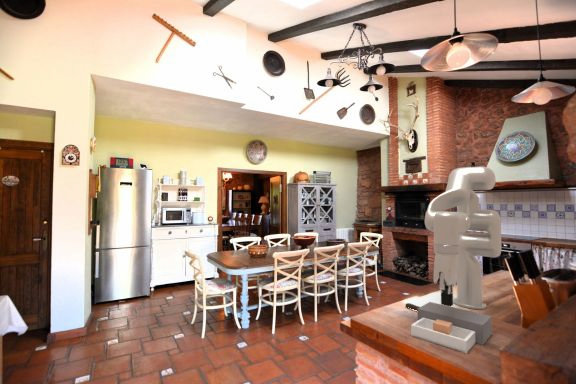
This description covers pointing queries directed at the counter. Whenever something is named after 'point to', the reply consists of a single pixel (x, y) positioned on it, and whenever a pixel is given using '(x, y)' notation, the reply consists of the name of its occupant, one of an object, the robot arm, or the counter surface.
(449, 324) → the terracotta tile
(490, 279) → the counter surface
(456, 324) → the block
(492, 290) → the counter surface
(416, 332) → the box
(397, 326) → the counter surface
